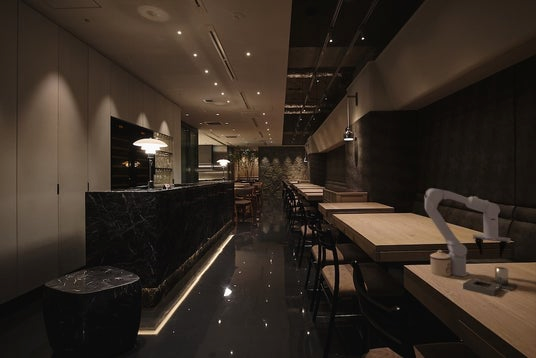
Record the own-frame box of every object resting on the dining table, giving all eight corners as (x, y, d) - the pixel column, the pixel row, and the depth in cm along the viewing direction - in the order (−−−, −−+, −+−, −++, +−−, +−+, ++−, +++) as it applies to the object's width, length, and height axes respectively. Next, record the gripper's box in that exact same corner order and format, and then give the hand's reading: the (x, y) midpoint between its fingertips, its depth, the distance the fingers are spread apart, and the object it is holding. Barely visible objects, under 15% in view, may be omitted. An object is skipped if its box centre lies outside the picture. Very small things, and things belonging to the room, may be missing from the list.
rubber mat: (486, 285, 133) (486, 283, 133) (492, 280, 138) (492, 279, 138) (512, 290, 126) (511, 289, 126) (517, 286, 131) (517, 284, 131)
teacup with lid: (450, 278, 143) (449, 253, 143) (429, 275, 149) (428, 251, 149) (453, 270, 153) (452, 247, 153) (433, 268, 158) (431, 246, 158)
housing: (463, 288, 129) (462, 283, 129) (472, 283, 136) (472, 278, 136) (494, 296, 120) (494, 290, 120) (502, 289, 127) (502, 284, 127)
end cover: (493, 284, 132) (493, 267, 133) (497, 281, 135) (496, 265, 135) (506, 286, 129) (506, 270, 129) (509, 284, 132) (509, 268, 132)
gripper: (470, 226, 148) (471, 254, 148) (508, 230, 137) (508, 259, 137) (474, 225, 153) (475, 251, 153) (510, 228, 142) (511, 257, 142)
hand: (491, 255), depth 145 cm, fingers open, 7 cm apart
